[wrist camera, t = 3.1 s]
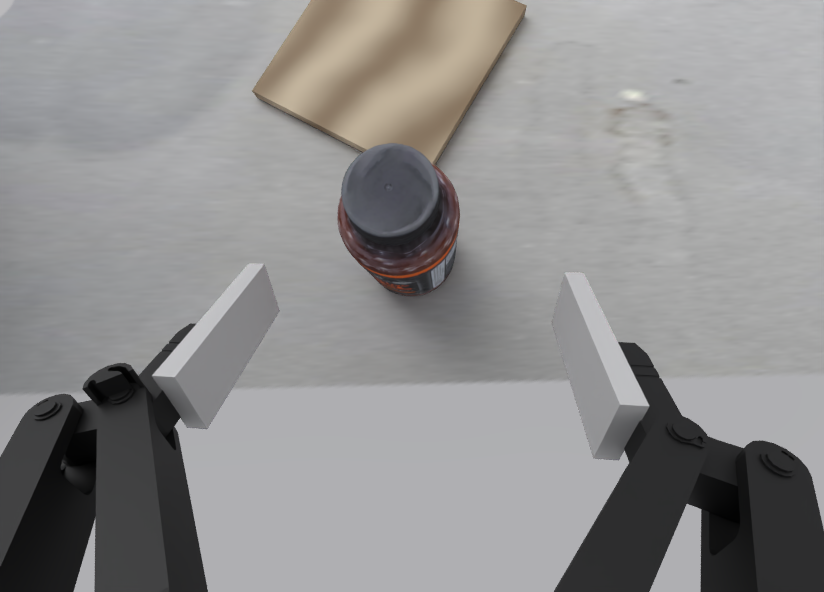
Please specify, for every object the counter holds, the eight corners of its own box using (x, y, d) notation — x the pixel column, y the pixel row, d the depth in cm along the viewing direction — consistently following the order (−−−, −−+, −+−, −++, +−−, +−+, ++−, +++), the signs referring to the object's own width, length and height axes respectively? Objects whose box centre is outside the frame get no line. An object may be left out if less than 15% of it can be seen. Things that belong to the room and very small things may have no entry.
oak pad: (257, 97, 29) (252, 90, 28) (356, -55, 30) (354, -66, 29) (423, 183, 26) (423, 178, 26) (524, 15, 27) (526, 5, 27)
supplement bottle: (356, 278, 26) (289, 226, 15) (391, 203, 26) (351, 98, 15) (435, 311, 25) (426, 283, 14) (468, 233, 26) (486, 145, 14)
